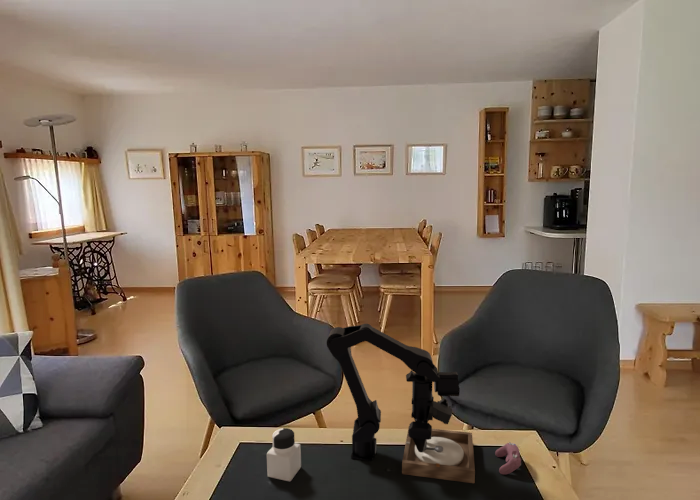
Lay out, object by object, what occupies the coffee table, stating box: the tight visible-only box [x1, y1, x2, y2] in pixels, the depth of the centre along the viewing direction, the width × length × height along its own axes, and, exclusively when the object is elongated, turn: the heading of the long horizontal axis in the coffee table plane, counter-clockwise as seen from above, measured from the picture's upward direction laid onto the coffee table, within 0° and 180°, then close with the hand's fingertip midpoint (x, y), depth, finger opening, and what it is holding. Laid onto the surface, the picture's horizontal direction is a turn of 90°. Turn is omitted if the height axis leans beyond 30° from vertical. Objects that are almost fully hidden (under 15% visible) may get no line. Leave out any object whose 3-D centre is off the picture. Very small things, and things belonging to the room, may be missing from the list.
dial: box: [415, 437, 464, 466], centre depth 132 cm, size 14×14×7 cm
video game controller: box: [494, 442, 522, 475], centre depth 128 cm, size 10×5×7 cm, turn 169°
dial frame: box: [401, 427, 476, 484], centre depth 132 cm, size 19×19×4 cm
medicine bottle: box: [266, 427, 302, 482], centre depth 126 cm, size 7×7×12 cm
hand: (421, 444), depth 133 cm, fingers open, 7 cm apart
